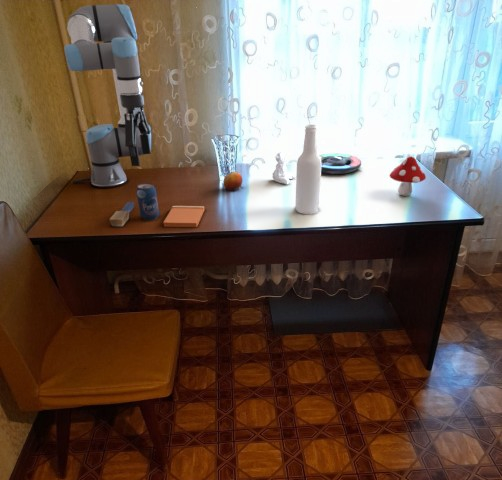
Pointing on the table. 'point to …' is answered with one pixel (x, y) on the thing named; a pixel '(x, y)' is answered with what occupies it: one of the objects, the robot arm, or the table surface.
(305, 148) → the alcohol
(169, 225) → the orange flat block
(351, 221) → the table surface
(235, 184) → the fruit
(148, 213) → the soda can
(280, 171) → the white creature statuette
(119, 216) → the brush
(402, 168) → the decorative mushroom
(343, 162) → the electronic game
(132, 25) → the robot arm
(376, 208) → the table surface
